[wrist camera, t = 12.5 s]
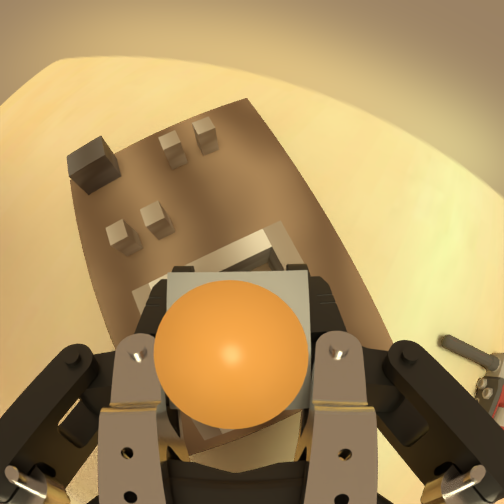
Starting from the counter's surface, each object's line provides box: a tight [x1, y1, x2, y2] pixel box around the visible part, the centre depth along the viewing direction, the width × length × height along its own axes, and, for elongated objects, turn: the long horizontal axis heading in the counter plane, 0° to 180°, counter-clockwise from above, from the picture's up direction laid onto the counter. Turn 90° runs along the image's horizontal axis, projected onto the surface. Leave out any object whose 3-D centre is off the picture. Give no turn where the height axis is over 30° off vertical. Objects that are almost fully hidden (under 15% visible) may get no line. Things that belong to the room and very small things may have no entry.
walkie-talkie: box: [442, 335, 504, 430], centre depth 13 cm, size 9×4×20 cm
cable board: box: [67, 98, 393, 455], centre depth 16 cm, size 16×22×5 cm
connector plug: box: [154, 270, 311, 429], centre depth 9 cm, size 4×4×11 cm
